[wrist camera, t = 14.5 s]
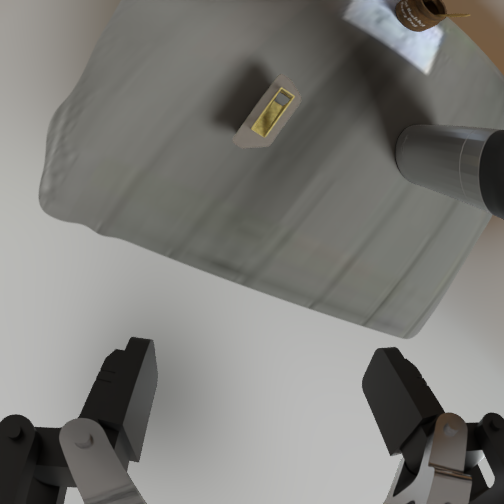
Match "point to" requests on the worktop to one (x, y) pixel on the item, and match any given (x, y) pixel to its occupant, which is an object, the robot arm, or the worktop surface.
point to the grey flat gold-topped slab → (268, 115)
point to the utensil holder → (422, 13)
